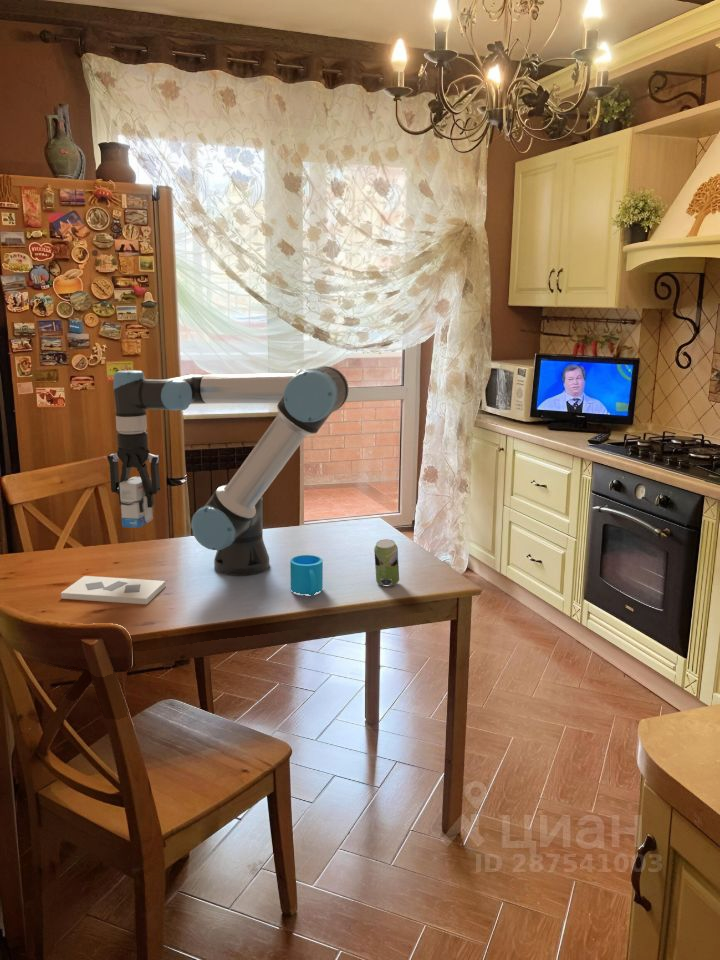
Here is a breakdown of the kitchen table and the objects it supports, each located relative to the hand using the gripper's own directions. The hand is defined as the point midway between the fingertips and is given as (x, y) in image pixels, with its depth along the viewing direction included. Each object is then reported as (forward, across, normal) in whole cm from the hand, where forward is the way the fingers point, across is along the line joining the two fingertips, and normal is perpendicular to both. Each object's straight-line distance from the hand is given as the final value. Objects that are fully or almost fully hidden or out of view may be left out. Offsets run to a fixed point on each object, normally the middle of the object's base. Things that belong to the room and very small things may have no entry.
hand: (137, 518), depth 200 cm
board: (+16, +2, +13) cm, 20 cm away
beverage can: (+17, -66, -4) cm, 68 cm away
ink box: (+2, 0, 0) cm, 2 cm away
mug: (+16, -46, +5) cm, 50 cm away
